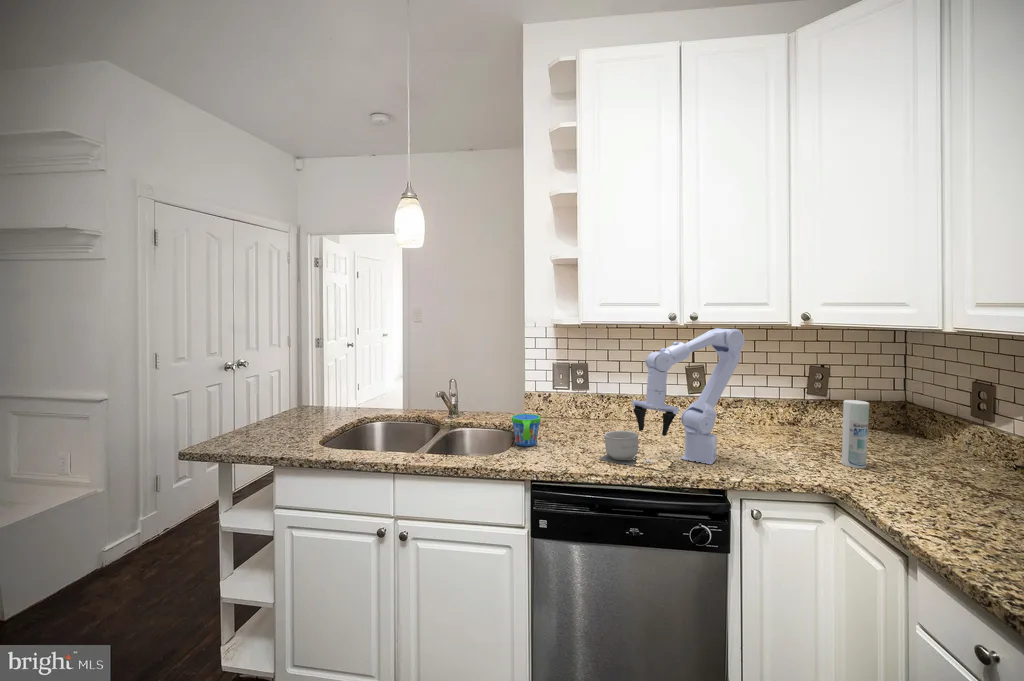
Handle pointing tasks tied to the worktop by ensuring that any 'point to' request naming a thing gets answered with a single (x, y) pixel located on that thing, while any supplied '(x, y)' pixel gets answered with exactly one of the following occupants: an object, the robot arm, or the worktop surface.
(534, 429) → the snack cup
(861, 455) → the spray can
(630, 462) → the label mat
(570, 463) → the worktop surface
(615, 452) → the teacup
